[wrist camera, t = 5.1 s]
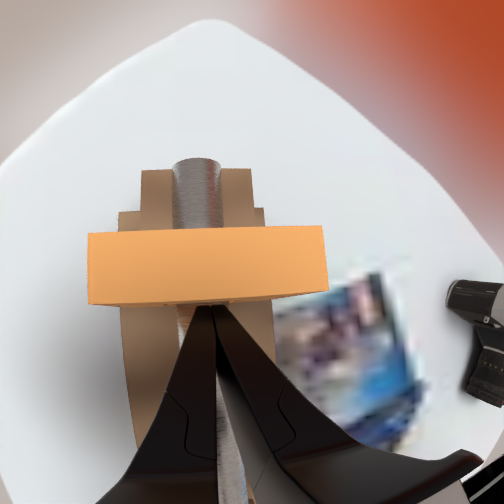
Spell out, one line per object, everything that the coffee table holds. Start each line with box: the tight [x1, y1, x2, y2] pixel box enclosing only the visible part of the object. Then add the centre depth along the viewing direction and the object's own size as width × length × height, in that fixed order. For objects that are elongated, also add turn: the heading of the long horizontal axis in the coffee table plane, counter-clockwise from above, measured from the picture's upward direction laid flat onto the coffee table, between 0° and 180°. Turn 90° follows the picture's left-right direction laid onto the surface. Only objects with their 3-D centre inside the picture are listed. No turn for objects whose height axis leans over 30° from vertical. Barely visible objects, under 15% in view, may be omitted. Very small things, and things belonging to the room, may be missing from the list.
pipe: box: [172, 158, 249, 504], centre depth 12 cm, size 24×2×2 cm, turn 5°
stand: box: [118, 169, 276, 504], centre depth 16 cm, size 25×10×8 cm, turn 5°
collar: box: [87, 226, 329, 308], centre depth 13 cm, size 2×7×8 cm, turn 94°
